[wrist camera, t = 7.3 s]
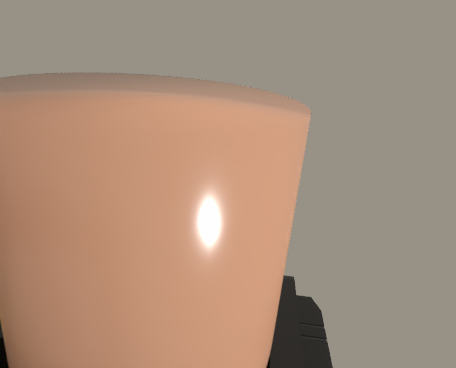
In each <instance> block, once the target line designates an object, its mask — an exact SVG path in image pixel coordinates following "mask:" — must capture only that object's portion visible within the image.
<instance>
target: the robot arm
mask: <svg viewBox="0 0 456 368" xmlns="http://www.w3.org/2000/svg"><path fill="white" fill-rule="evenodd" d="M326 339H327V338H326V333H325V329H324V323H323V318H322V313H321V310H320V309H319V307H318V306H317V305H316V303H315V302H314V301H313V299H312V298H311V297H305V296H297V295H296V290H295V281H294V277H291V276H283V282H282V288H281V294H280V300H279V306H278V312H277V317H276V323H275V329H274V335H273V341H272V347H271V351H270V356H269V362H268V368H333V367H332V363H331V357H330V352H329V348H328V343H327V341H326ZM0 368H9V367H8V361H7V355H6V350H5V344H4V338H3V332H2V326H1V321H0Z"/></svg>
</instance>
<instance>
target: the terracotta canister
mask: <svg viewBox="0 0 456 368" xmlns="http://www.w3.org/2000/svg"><path fill="white" fill-rule="evenodd" d="M310 117H311V111H310V109H309V108H308V107H307V106H306V105H304V104H303V103H301V102H299V101H297V100H294V99H292V98H289V97H286V96H283V95H280V94H277V93H273V92H269V91H265V90H261V89H256V88H251V87H246V86H241V85H235V84H229V83H222V82H216V81H207V80H200V79H191V78H182V77H171V76H158V75H144V74H125V73H45V74H29V75H19V76H10V77H2V78H0V321H1V326H2V332H3V338H4V344H5V350H6V355H7V361H8V367H9V368H268V362H269V356H270V351H271V347H272V341H273V335H274V329H275V323H276V317H277V312H278V306H279V300H280V294H281V288H282V282H283V276H284V270H285V264H286V259H287V252H288V246H289V241H290V235H291V229H292V223H293V217H294V211H295V206H296V200H297V194H298V188H299V182H300V176H301V170H302V164H303V158H304V153H305V146H306V140H307V135H308V129H309V123H310Z"/></svg>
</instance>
